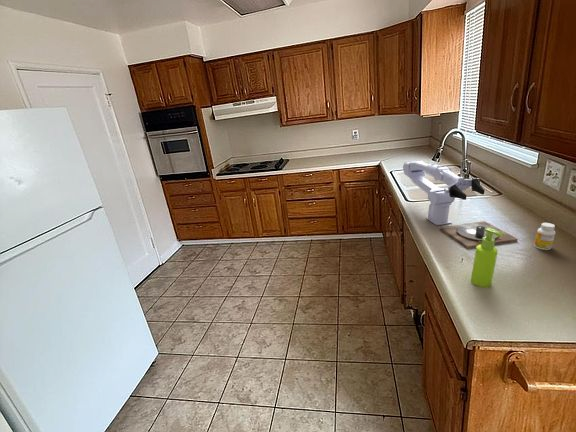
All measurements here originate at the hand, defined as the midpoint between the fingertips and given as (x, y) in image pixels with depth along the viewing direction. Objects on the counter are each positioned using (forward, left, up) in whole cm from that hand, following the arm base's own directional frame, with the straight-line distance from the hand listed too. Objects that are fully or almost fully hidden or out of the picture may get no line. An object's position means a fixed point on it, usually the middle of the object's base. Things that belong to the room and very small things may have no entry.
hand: (474, 194), depth 122 cm
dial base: (-2, +6, -20) cm, 21 cm away
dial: (-2, +6, -19) cm, 20 cm away
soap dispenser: (+29, -15, -21) cm, 38 cm away
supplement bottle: (+14, +22, -21) cm, 33 cm away
